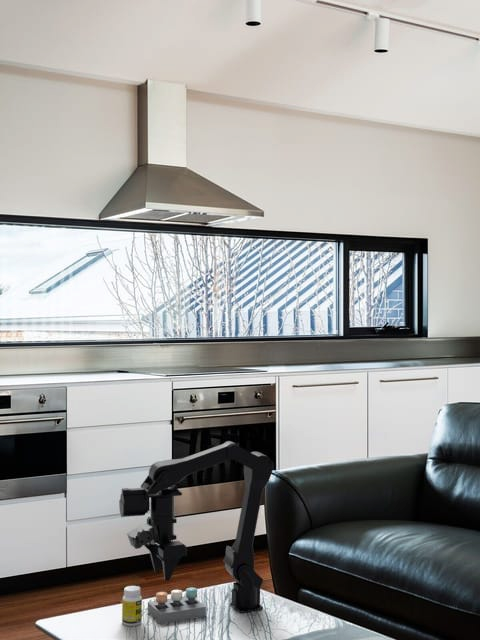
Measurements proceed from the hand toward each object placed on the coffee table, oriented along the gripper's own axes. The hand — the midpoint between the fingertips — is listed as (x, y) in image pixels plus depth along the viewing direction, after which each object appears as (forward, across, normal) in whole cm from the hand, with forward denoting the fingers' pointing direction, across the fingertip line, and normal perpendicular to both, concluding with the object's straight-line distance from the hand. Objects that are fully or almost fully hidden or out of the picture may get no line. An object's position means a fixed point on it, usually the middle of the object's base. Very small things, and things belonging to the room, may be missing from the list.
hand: (162, 576), depth 212 cm
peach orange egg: (+8, 0, 0) cm, 8 cm away
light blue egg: (+8, 0, +8) cm, 12 cm away
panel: (+10, 0, +4) cm, 11 cm away
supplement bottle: (+10, +1, -8) cm, 13 cm away
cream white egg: (+8, 0, +4) cm, 9 cm away
